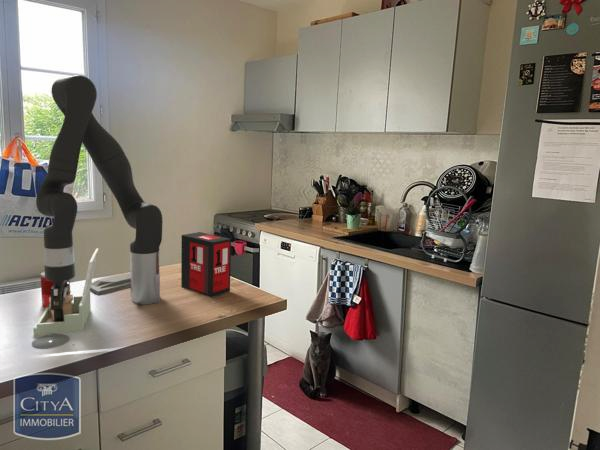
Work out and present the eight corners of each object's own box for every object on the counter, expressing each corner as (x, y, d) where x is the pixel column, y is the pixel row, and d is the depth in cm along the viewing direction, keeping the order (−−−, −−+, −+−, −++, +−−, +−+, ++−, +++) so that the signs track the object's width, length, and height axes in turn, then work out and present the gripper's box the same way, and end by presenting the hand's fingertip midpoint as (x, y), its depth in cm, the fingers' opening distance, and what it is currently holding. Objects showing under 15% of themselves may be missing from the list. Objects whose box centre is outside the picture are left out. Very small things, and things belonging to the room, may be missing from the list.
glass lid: (88, 285, 135) (91, 285, 135) (80, 303, 120) (83, 303, 120) (96, 248, 133) (98, 248, 134) (89, 261, 119) (92, 262, 119)
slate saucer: (71, 335, 120) (71, 332, 120) (65, 348, 112) (65, 346, 112) (36, 338, 117) (36, 335, 117) (28, 352, 109) (28, 349, 109)
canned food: (58, 311, 136) (56, 277, 134) (36, 308, 137) (34, 274, 135) (75, 303, 143) (74, 270, 141) (54, 300, 145) (52, 268, 143)
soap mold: (83, 289, 158) (83, 280, 157) (133, 278, 173) (133, 269, 173) (98, 296, 152) (98, 287, 151) (148, 284, 167) (148, 275, 167)
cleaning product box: (181, 287, 164) (181, 235, 161) (199, 282, 171) (200, 232, 168) (212, 297, 155) (212, 242, 151) (229, 291, 162) (231, 238, 158)
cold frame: (90, 312, 136) (89, 287, 135) (83, 333, 121) (82, 305, 120) (47, 314, 132) (45, 289, 131) (33, 337, 118) (32, 308, 116)
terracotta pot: (75, 317, 130) (74, 287, 129) (72, 325, 125) (70, 294, 123) (52, 318, 129) (51, 288, 127) (48, 326, 123) (46, 295, 121)
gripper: (69, 268, 118) (72, 325, 121) (78, 255, 131) (80, 306, 134) (38, 269, 116) (41, 327, 119) (50, 256, 129) (52, 308, 132)
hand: (62, 316), depth 126 cm, fingers open, 8 cm apart
